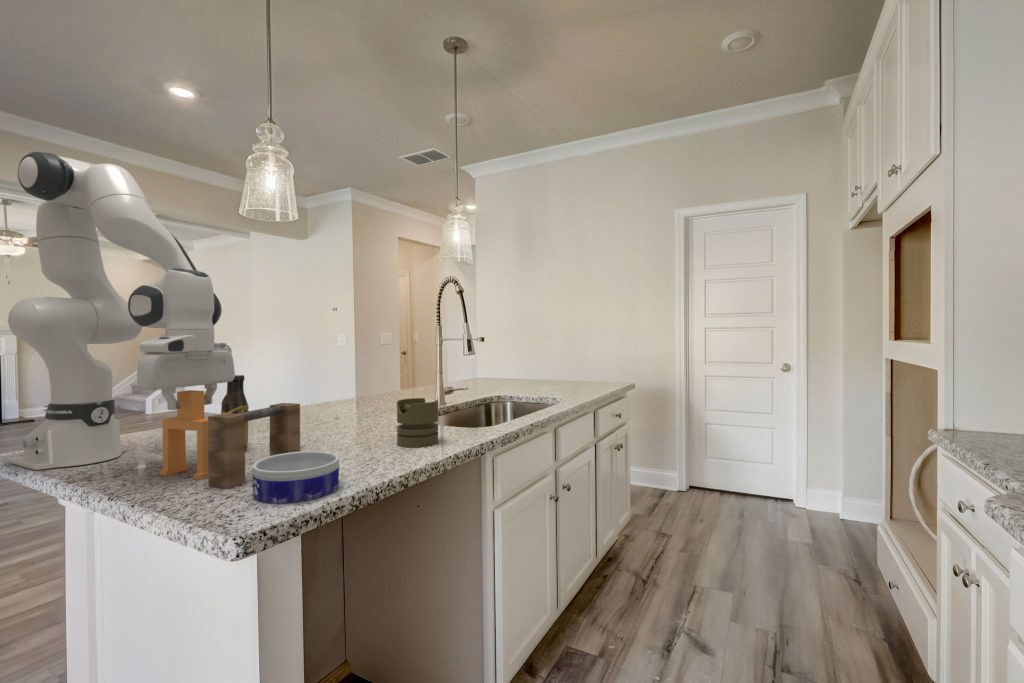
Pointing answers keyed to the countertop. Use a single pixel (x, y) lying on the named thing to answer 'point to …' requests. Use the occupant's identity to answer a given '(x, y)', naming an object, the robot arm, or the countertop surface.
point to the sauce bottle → (236, 401)
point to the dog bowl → (295, 477)
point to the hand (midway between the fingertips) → (190, 406)
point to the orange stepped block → (174, 435)
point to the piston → (417, 423)
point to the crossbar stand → (230, 441)
